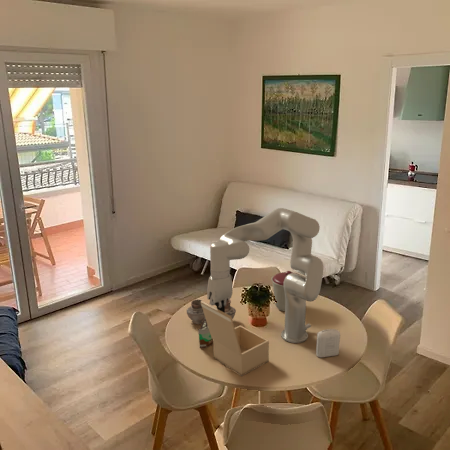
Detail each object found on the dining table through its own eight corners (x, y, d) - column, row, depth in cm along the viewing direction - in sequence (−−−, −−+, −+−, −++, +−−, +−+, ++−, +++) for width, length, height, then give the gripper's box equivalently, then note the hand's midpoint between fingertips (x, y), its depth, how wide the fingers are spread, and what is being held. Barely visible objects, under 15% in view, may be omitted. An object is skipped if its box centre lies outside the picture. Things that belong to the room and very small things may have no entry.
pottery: (235, 327, 231) (235, 305, 227) (185, 326, 232) (184, 305, 229) (236, 316, 242) (236, 295, 238) (188, 315, 243) (187, 295, 240)
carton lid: (201, 300, 194) (200, 301, 193) (231, 316, 180) (229, 317, 180) (213, 337, 203) (211, 338, 202) (241, 354, 189) (240, 355, 189)
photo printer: (335, 350, 210) (337, 325, 206) (340, 355, 206) (341, 330, 202) (314, 353, 208) (315, 328, 204) (318, 358, 204) (319, 333, 200)
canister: (305, 301, 257) (307, 266, 251) (303, 317, 240) (305, 279, 234) (273, 298, 261) (273, 263, 254) (268, 313, 244) (269, 276, 238)
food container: (212, 350, 211) (211, 331, 208) (198, 349, 212) (198, 330, 209) (217, 336, 222) (217, 318, 220) (205, 335, 224) (204, 317, 221)
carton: (240, 344, 216) (240, 325, 213) (268, 361, 202) (268, 340, 200) (213, 357, 206) (213, 337, 203) (241, 375, 192) (241, 354, 190)
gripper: (228, 265, 192) (228, 306, 197) (199, 275, 182) (200, 317, 188) (240, 270, 186) (240, 312, 192) (211, 280, 177) (212, 324, 182)
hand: (220, 314), depth 190 cm, fingers closed
